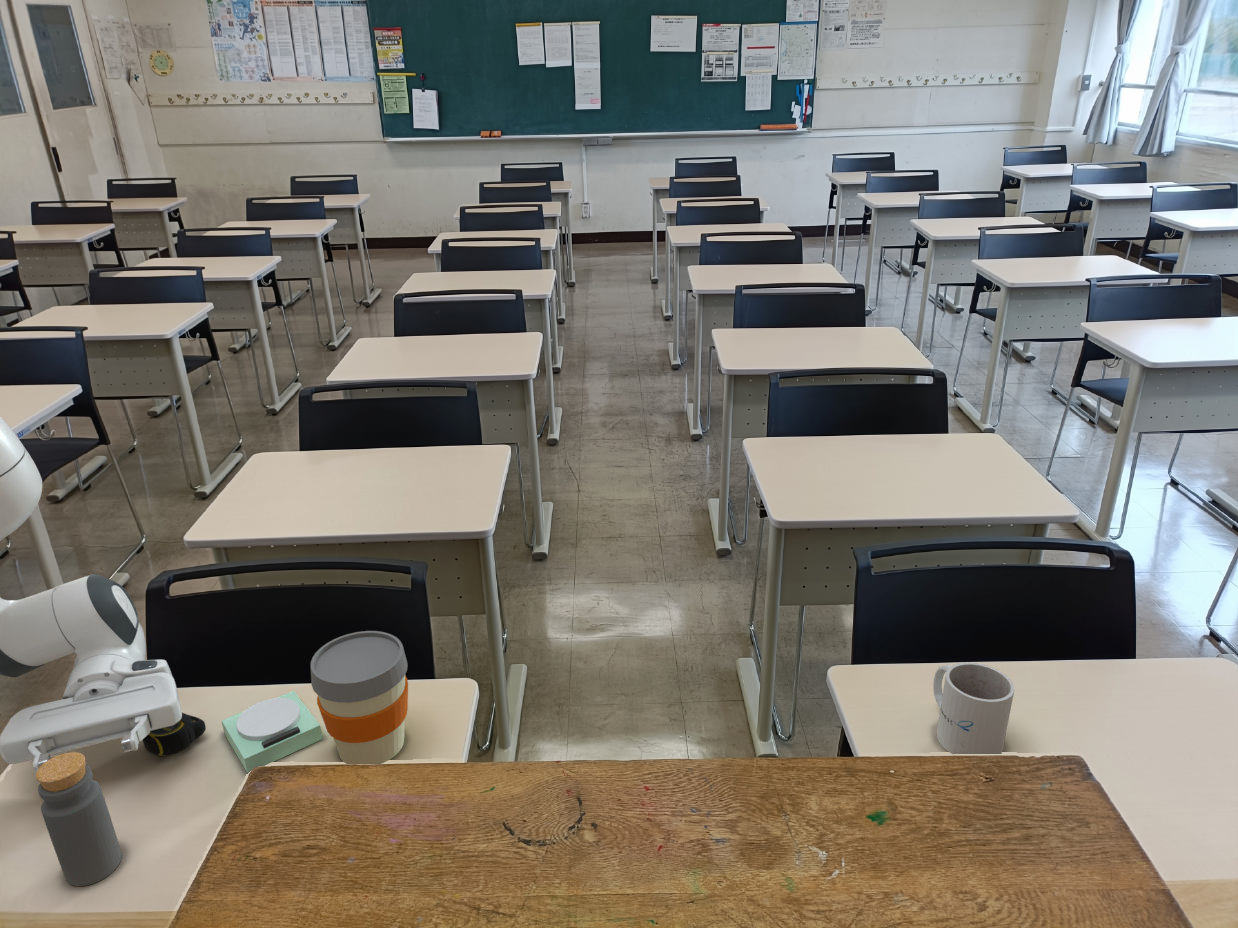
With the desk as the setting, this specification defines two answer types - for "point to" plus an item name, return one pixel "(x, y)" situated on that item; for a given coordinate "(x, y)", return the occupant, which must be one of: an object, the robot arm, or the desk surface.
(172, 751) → the tape measure
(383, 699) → the reusable coffee cup
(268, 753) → the scale
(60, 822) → the bottle
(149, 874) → the desk surface
